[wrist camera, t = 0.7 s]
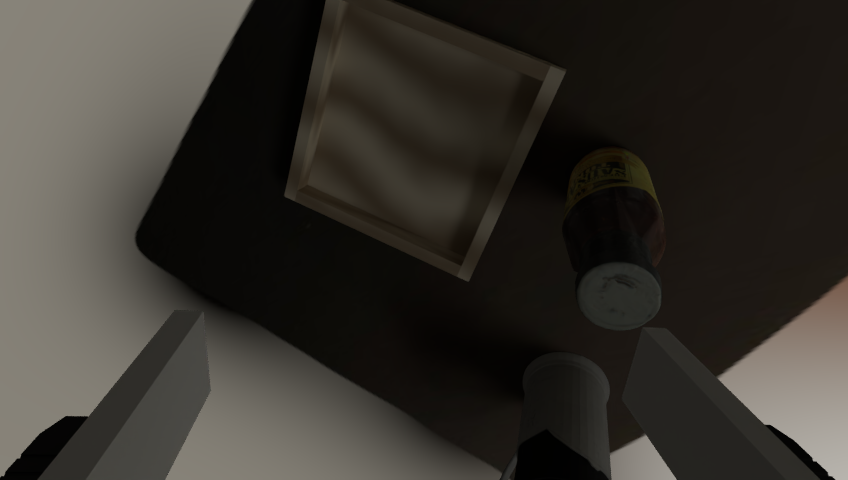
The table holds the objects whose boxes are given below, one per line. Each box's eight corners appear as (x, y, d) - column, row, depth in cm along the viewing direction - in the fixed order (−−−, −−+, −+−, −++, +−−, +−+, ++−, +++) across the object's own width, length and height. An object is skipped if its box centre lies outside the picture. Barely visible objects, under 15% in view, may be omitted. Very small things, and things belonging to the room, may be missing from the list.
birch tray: (346, -19, 40) (330, -22, 38) (566, 69, 38) (565, 71, 36) (300, 187, 50) (284, 196, 47) (474, 268, 47) (468, 281, 45)
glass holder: (628, 390, 48) (648, 526, 35) (535, 456, 54) (521, 591, 41) (561, 336, 48) (554, 452, 34) (475, 409, 54) (442, 529, 41)
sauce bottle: (613, 127, 39) (642, 203, 21) (663, 182, 39) (731, 301, 22) (551, 179, 42) (531, 282, 24) (597, 230, 42) (611, 367, 25)
